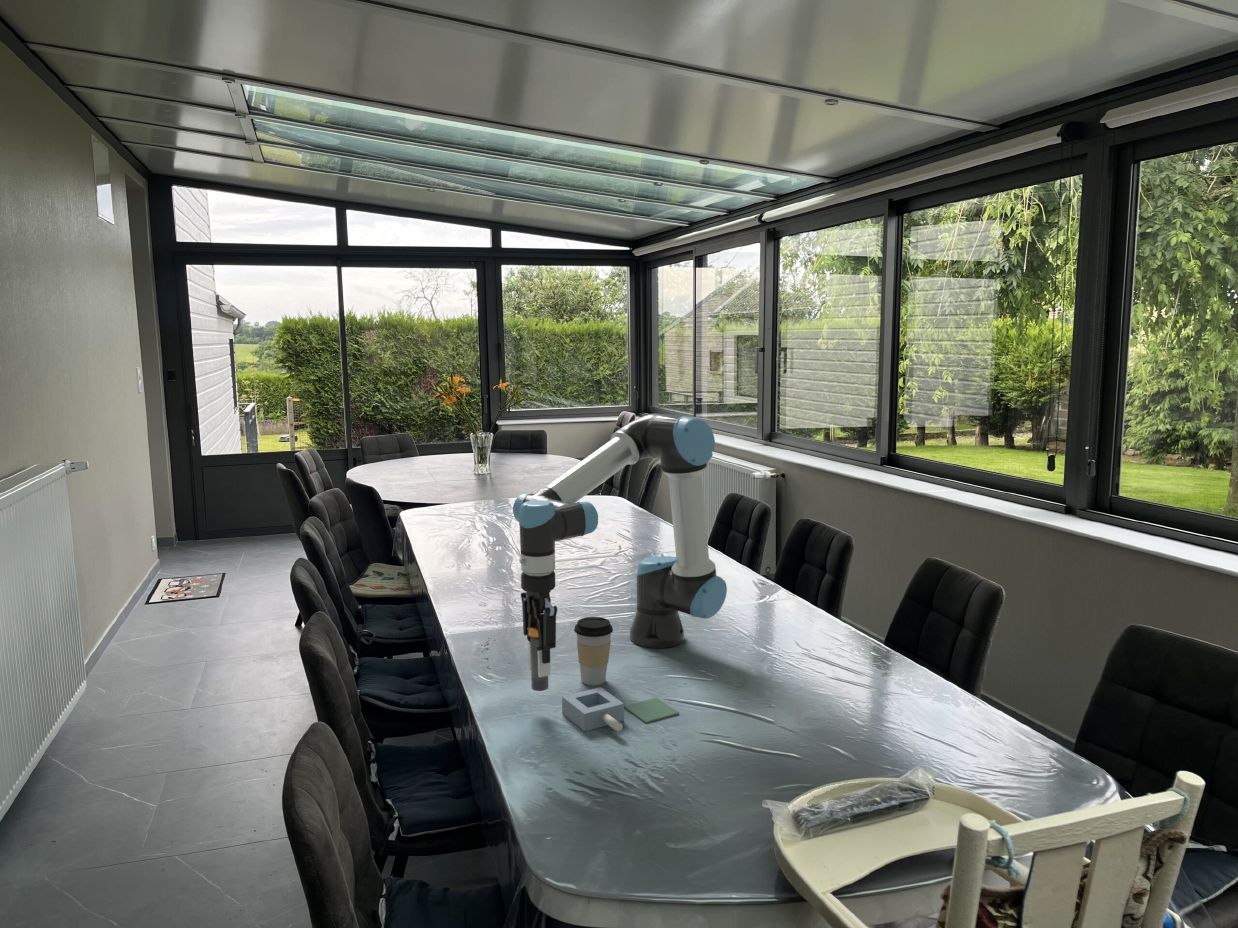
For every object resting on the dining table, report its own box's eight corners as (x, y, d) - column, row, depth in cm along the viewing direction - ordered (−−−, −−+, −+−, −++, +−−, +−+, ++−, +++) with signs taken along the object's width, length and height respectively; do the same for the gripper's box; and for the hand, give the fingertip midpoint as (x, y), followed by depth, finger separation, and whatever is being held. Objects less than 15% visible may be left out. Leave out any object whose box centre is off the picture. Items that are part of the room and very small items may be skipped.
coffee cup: (616, 675, 208) (617, 617, 205) (605, 690, 199) (606, 630, 196) (580, 671, 210) (581, 613, 208) (568, 685, 201) (568, 626, 199)
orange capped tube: (526, 685, 188) (525, 626, 186) (544, 681, 191) (543, 622, 188) (535, 693, 184) (534, 633, 182) (553, 688, 187) (553, 628, 184)
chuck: (562, 713, 187) (562, 696, 186) (600, 703, 192) (600, 686, 191) (598, 743, 173) (598, 724, 173) (638, 731, 178) (639, 714, 178)
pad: (623, 707, 190) (623, 705, 190) (656, 699, 195) (656, 697, 195) (645, 723, 182) (645, 721, 182) (679, 713, 187) (679, 712, 187)
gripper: (506, 564, 188) (508, 662, 192) (539, 584, 174) (541, 689, 178) (536, 559, 192) (538, 655, 196) (571, 578, 178) (572, 681, 182)
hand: (539, 671), depth 187 cm, fingers closed on orange capped tube, 4 cm apart
